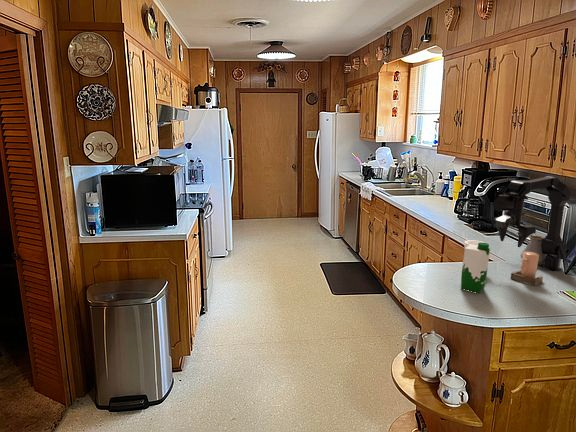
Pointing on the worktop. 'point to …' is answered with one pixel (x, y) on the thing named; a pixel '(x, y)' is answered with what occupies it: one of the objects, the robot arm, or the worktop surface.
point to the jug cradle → (526, 278)
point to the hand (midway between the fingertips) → (510, 244)
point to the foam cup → (472, 242)
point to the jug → (529, 264)
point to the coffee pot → (533, 247)
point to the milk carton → (475, 267)
